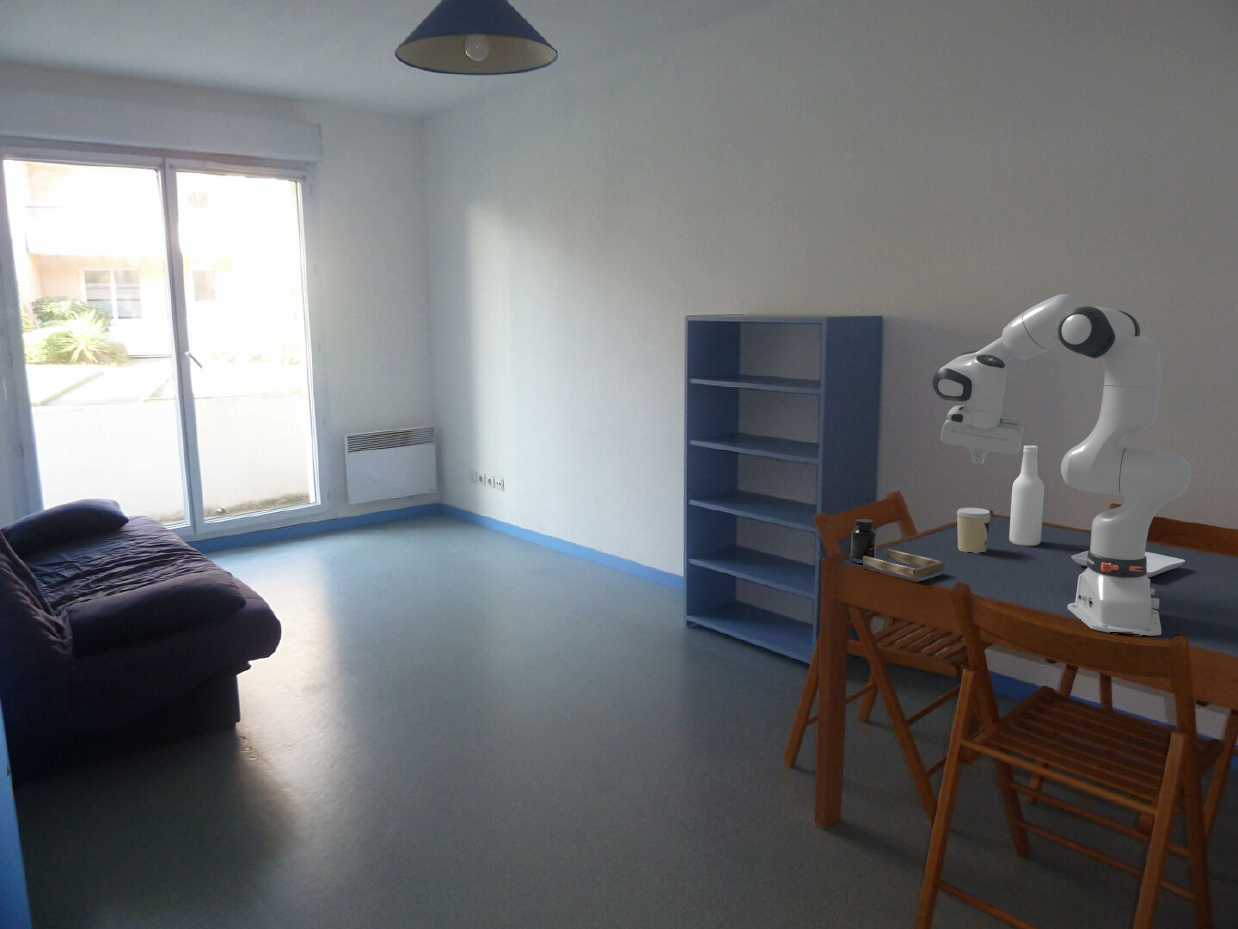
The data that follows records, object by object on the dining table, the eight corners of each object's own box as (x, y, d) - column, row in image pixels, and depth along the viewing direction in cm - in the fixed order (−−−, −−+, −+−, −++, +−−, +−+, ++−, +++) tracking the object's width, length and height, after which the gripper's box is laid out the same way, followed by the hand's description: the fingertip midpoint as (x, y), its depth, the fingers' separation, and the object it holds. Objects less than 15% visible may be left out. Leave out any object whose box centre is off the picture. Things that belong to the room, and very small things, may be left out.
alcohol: (1003, 539, 271) (1009, 444, 266) (1031, 538, 271) (1037, 443, 266) (1017, 546, 262) (1024, 448, 257) (1046, 546, 263) (1053, 447, 258)
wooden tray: (943, 574, 235) (944, 562, 235) (916, 583, 228) (916, 570, 227) (889, 561, 249) (890, 549, 248) (862, 569, 241) (862, 556, 241)
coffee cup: (992, 554, 254) (994, 514, 252) (958, 553, 256) (960, 513, 254) (984, 546, 263) (986, 507, 261) (951, 545, 265) (953, 507, 263)
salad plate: (1105, 554, 254) (1106, 543, 253) (1186, 570, 237) (1187, 558, 236) (1068, 567, 242) (1069, 555, 241) (1150, 585, 225) (1151, 572, 224)
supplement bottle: (876, 565, 245) (877, 523, 243) (851, 564, 246) (852, 522, 244) (874, 558, 252) (875, 518, 250) (850, 557, 253) (851, 517, 251)
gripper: (1027, 417, 228) (1020, 464, 234) (947, 405, 239) (942, 451, 245) (1022, 426, 223) (1015, 474, 229) (941, 413, 234) (936, 460, 240)
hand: (977, 462), depth 237 cm, fingers closed
